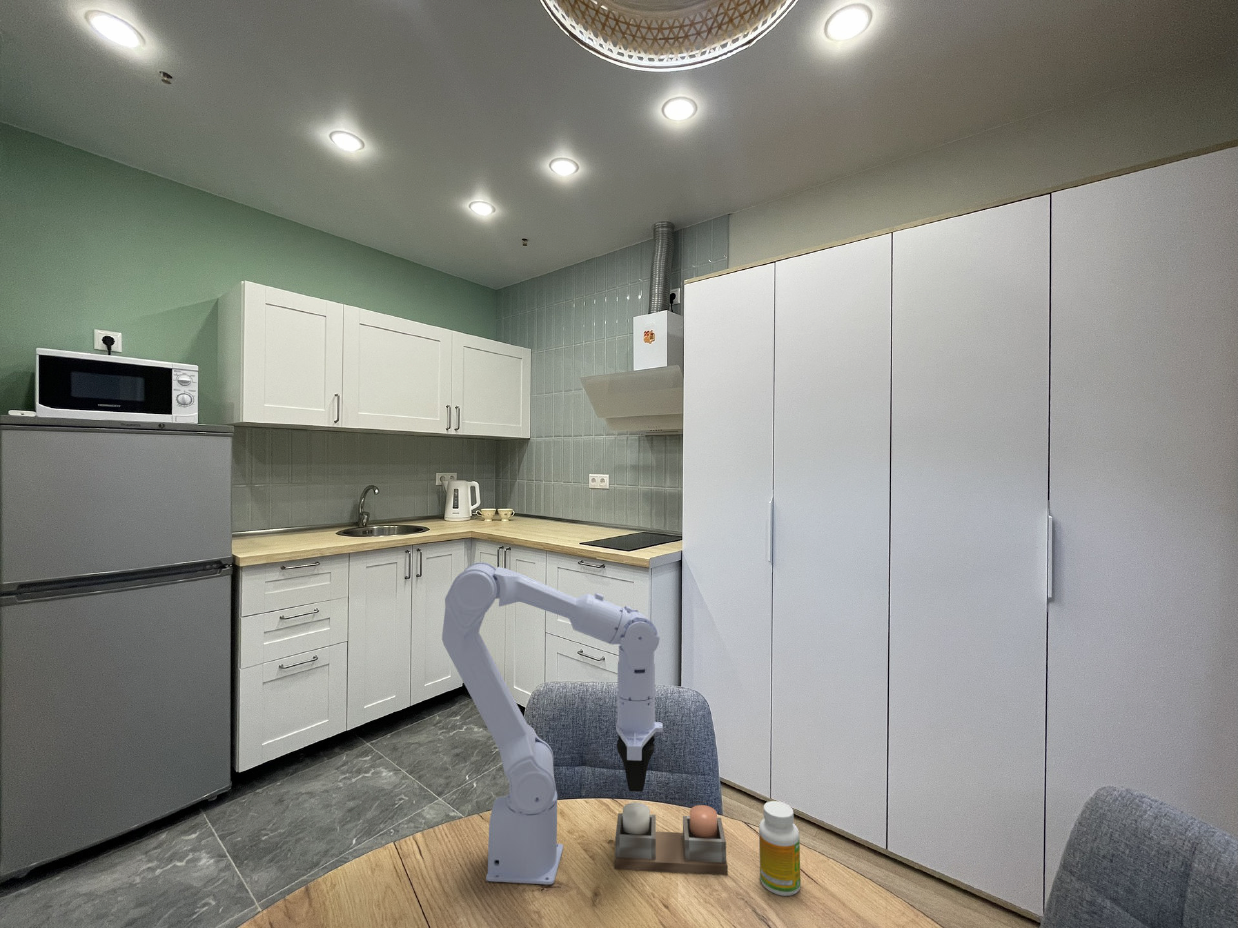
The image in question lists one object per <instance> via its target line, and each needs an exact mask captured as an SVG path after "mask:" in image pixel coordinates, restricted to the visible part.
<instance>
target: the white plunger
mask: <svg viewBox="0 0 1238 928" xmlns="http://www.w3.org/2000/svg"><path fill="white" fill-rule="evenodd" d="M622 813H623V829H624V831H625V832H627V833H628V834H631V835H642V834H645V833H647V832H648V831H649V828H650V815H651V814H650V807H649V806H648V805H646V804H644V803H641V802H638V801H637V802H628V803H626V805H624V806H623V808H622Z"/></svg>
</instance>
